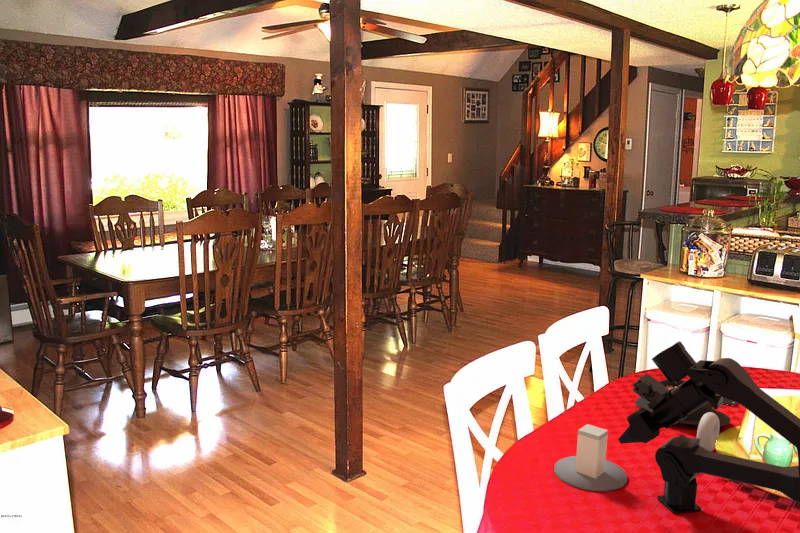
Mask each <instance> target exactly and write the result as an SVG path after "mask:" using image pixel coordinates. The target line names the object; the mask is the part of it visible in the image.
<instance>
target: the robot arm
mask: <svg viewBox="0 0 800 533" xmlns="http://www.w3.org/2000/svg"><path fill="white" fill-rule="evenodd" d="M651 360H652V362H653V363H654V364H655V366H656V367H657V368H658V369H659V371H660V372H661V374H662V375H663V376H664V378H665V379H666V380H668V381H671V383H672V382H673V381H675V382H676V383H677V382H679V381H680V380H684V379H685V378H686V377H689V378H688V379H687V380H685V382H684V383H682V384H681V385H679V386H678V387H676V388H673V389H671V390H668V389H667V388H666V387H665V386H664V385H663V384H662V383H660V382H659V381H660V380H658V379H656V378H655V377H653V376H652V375H650V374H647V373H646V374H643V375H642V376H639V378H638V380H637V381H636V382H634V383H633V387H632V391H633V392H634V393H635V394H637V395H638V396H639V398H640V397H642V398H644V399H646V400H647V401H649V402H650V403H649V404H647V405H648V407H649V408H650V409H651V410H652V413H651V412H649V411H647V410H645V409H643V408H639V409H638V410H636V411H634V412H632V413H631V414H629V415H628V416H626V419H627V423H628V424H629V425H628V427H627V428H626V429H625V430H624V431H623V433H622V434H621V435H620V436H619V438H618V439H617V440H618V442H619V443H620V444H633V443H634V444H635V443H636V444H638V443H639V444H641V443H643V444H648V443H649V442H651V441H652V440H654V439H655V438H657V437H659V436H660V435H661V434H660V433H661V432H660V431H661V429H664V428H665V429H666V430H667V429H669V428H670V427H673V426H675V425H677V424H679V422H680V421H682V420H683V419H685V418H686V417H687V416H688V415H689V414H691V413H693V412H694V411H696V410H697V409H699V408H701V407H702V406H704V405H705V404H707V403H710V404H711V406H712V407H713V408H712V409H714V410H716V411H718V409H720V408H721V406H723V397H724V398H725V399H728V400H731V401H734V402H737V404H739V405H741V406H743V407H744V408H746V409H747V411H748V412H750V413H751V414H753V415H754V416H755V417H757V418H758V419H760V421H762V422H763V423H764V424H766V425H767V426H768V427H769V428H771V429H772V431H774V432H776V433H777V434H779V435H780V436H781V437H782V438H784V439H785V440H786V441H788V442H789V444H792V445H793V446H794V447H795V449H796V453H797V462H798V465H793V466H791V465H790V466H780V465H775V464H771V463H766V462H762V461H758V460H752V459H748V458H743V457H738V456H734V455H730V454H723V453H720V452H714V451H708V450H706V449H704V448H703V447H701V446H700V445H699V443H700V439H698V438H697V437H687V436H685V435H684V434H683V433H682V434H680V435H679V436H673V437H671V438H670V439H668V440H667V441H666V442H665V443H663V444H662V445H661V446H660V447H658V449H657V450H656V451H655V456H654V458H655V462H656V464H657V466H658V467H659V469H660V473H661V477H662V481H664V486H663V494H662V495H657V500H659V502H660V503H662V505H664V506H665V507H666V508H667V509H668V510H669V511H670V512H672V513H673V514H682V513H683V514H684V513H691V512H701V511H702V507H701V506H700V505H698V504H697V503H696V502H697V501H696V500H697V491H698V485H699V484H698V482H697V478H696V477H698V476H699V475H700V474H705V475H709V476H714V477H718V478H721V479H726V480H731V481H734V482H739V483H743V484H748V485H751V486H756V487H760V488H765V489H769V490H774V491H777V492H779V493H781V494H783V495H784V496H786V497H787V498H789V499H791V500H792V501H793V502H796V503H798V504H800V418H799V417H798V416H796V414H795V413H793V412H792V411H790V410H789V409H787V408H786V407H785V406H784V405H782V404H781V403H779V402H778V400H775V399H774V398H773V397H772V396H770V395H769V394H768V393H766V392H765V391H764V390H762V389H761V388H760V387H759V386H758V385H757V384H756V383H755V381H754V380H753V378H752V376H751V375H750V374H749V372H747V370H745V369H744V367H743V366H741V365H740V363H739V362H737V361H736V360H734V359H733V358H730V357H721V358H719V359H717V360H705V359H704V360H703V359H701V360H698V361H697V362H696V360H695V359H694V358H693V357H692V356H691V354H690V353H689V352H688V351H687V349H686V348H685V346H684V344H683V342H682V341H677V342H676V343H674V344H673V345H671V346H669V347H668V348H666V349H664V350H661V351H660V352H659V353H658V354H656V355H655V356H654V357H652V358H651Z"/></svg>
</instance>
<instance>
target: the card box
mask: <svg viewBox="0 0 800 533" xmlns="http://www.w3.org/2000/svg"><path fill="white" fill-rule="evenodd" d="M608 436H609V430H608V429H606V428H602V427H598V426H596V425H592V424H588V423H587V424H585V425H584V426H582V427H581V428H579V429H578V430H577V442H576V455H575V456H576V467H575V472H578V473H581V474H584V475H587V476H590V477H593V478H595V479H596V478H597V477H599V476H600V475H601V474H602V473H604V472H605V461H606V460H607V448H608V446H607V445H608Z"/></svg>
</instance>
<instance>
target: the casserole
mask: <svg viewBox="0 0 800 533" xmlns="http://www.w3.org/2000/svg"><path fill="white" fill-rule="evenodd" d="M658 381H659V382H660V383H662V384H663V385H664V386H665V387H666V388H667V389H668V390H671V389H673V388H676V387H678V386H679V385H681V384H682V383H684V382H685V381H686V380H684V379H682V380H680V381H679V382H677V383H676V382H675V381H673V382H672V383H671V381H668V380H667V379H662V380H658ZM649 403H650V402H649V401H647V400H646V399H644V398H642V397H640V396H639V398H637V399H636V400H635V401H634V404H635V405H636V406H637V407H638V408H639V409H643V410H647V412H648V413H650V414H651V413H652V410H651V409H650V408H649V407H648V405H647V404H649ZM708 412H712V413H714V414H716V415H717V416H718V418H719V422H720V428H721V427H725V426H727V425H729V424H730V423H731V421H732V419H731V418H730V416H729V415H727V414H726V413H724V412H722V411H719V410H715V409H714V408H713V407H712V406H711V404H710V403H707V404H705V405H704V406H702V407H701V408H699V409H697V410H696V411H694V412H693V413H691V414H689V415H688V416H687V417H686V418H685V419H683V420H682V421H680V422H679V423H678V424H681V425H686V426H687V425H688V426H689V425H690V426H691V425H694V426H699V422H700V420H701V418H702V417H703V415H704V414H706V413H708Z"/></svg>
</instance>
